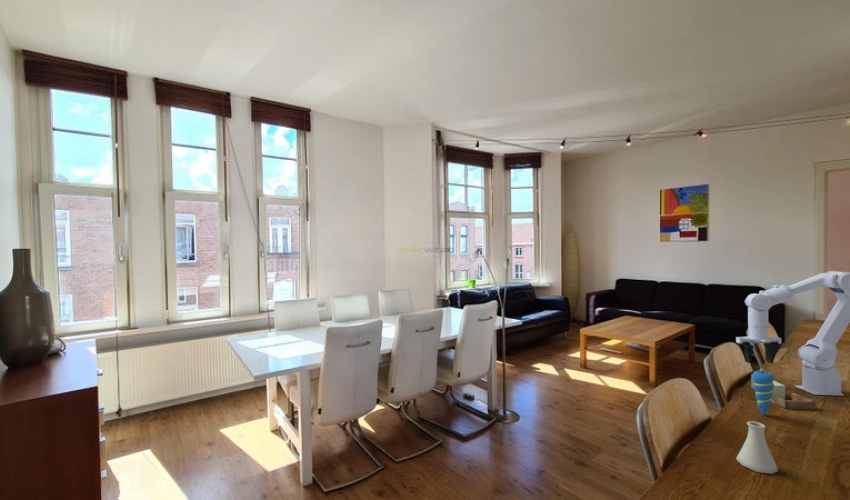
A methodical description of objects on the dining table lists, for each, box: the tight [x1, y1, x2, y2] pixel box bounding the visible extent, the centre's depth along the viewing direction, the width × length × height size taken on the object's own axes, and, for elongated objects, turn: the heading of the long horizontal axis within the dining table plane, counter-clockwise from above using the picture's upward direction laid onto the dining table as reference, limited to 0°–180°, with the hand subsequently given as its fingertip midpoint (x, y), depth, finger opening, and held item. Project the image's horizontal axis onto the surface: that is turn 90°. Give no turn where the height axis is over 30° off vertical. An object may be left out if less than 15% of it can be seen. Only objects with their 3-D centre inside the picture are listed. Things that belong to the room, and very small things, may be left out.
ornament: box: [752, 368, 775, 416], centre depth 116 cm, size 5×5×15 cm
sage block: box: [750, 373, 786, 400], centre depth 134 cm, size 10×5×5 cm, turn 175°
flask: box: [735, 421, 779, 475], centre depth 90 cm, size 7×7×10 cm
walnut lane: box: [771, 392, 817, 410], centre depth 124 cm, size 8×9×2 cm
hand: (758, 362), depth 141 cm, fingers open, 7 cm apart
